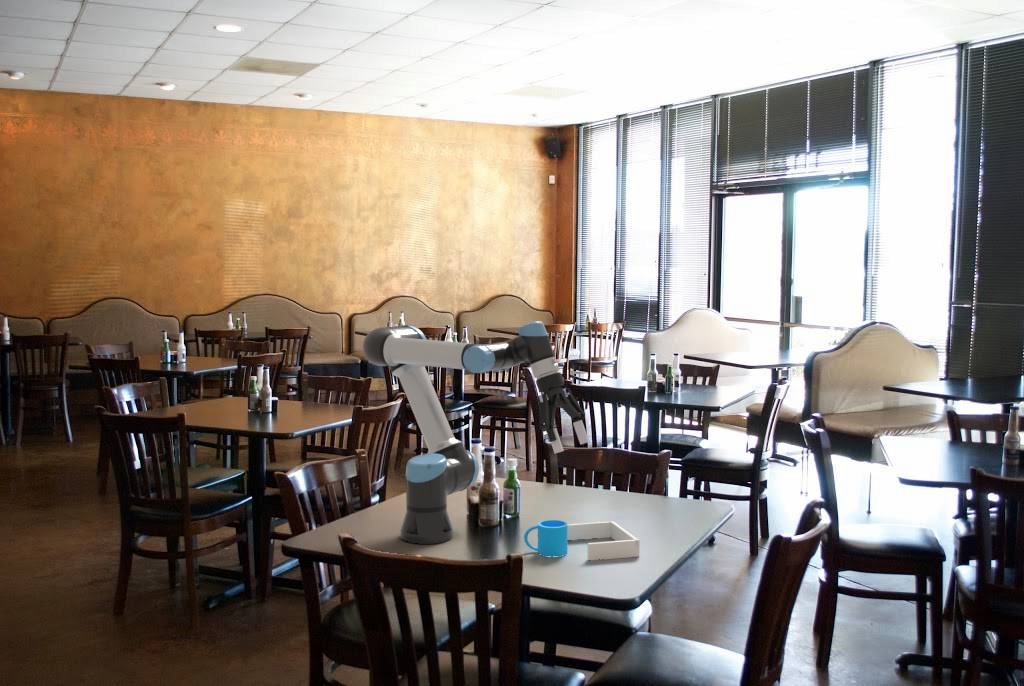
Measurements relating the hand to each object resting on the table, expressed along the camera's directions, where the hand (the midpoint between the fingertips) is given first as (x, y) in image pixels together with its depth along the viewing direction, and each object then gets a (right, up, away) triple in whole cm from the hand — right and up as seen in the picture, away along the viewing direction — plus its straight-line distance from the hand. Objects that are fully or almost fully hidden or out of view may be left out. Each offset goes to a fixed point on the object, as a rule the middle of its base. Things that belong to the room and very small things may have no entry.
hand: (572, 447), depth 266 cm
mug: (-8, -29, -3) cm, 30 cm away
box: (+8, -28, +1) cm, 29 cm away
